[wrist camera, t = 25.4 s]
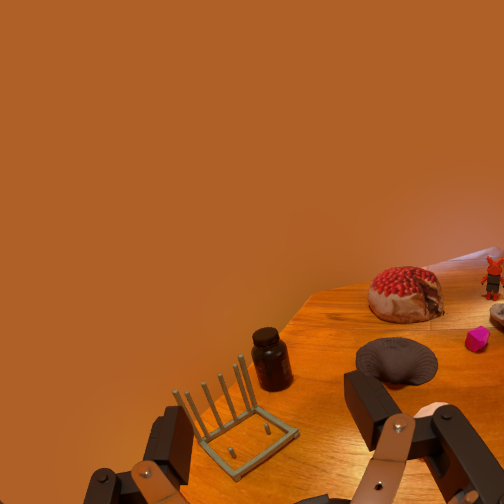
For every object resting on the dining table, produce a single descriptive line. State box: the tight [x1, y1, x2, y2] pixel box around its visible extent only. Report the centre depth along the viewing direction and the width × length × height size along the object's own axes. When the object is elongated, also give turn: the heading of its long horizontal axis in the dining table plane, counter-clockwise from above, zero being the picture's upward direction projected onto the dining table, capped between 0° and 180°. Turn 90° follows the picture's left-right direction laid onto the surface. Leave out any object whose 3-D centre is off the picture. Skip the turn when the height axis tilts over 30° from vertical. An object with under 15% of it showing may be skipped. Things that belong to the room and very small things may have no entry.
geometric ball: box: [413, 402, 448, 418], centre depth 26 cm, size 8×8×8 cm
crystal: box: [465, 326, 490, 352], centre depth 41 cm, size 5×5×5 cm
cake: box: [368, 267, 445, 323], centre depth 67 cm, size 23×24×10 cm
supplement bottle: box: [251, 327, 293, 391], centre depth 51 cm, size 7×7×12 cm
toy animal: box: [481, 256, 504, 301], centre depth 54 cm, size 8×6×12 cm
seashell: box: [356, 337, 438, 385], centre depth 47 cm, size 14×19×8 cm
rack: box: [172, 354, 300, 482], centre depth 37 cm, size 13×11×13 cm
